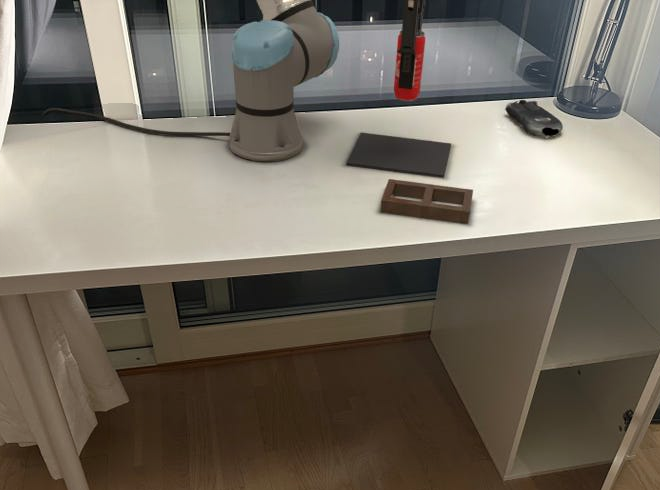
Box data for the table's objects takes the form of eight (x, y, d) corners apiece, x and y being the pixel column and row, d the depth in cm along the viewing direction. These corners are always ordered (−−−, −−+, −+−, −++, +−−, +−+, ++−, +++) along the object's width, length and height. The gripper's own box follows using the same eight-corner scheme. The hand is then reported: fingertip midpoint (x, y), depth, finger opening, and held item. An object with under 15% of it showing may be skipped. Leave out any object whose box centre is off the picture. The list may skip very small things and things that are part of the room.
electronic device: (499, 122, 168) (533, 138, 156) (505, 97, 165) (539, 112, 153) (532, 124, 171) (568, 140, 160) (538, 100, 169) (574, 114, 157)
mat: (346, 165, 143) (346, 162, 143) (360, 134, 155) (360, 132, 155) (443, 177, 141) (444, 175, 140) (450, 146, 153) (451, 143, 152)
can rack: (380, 212, 129) (381, 199, 127) (387, 190, 136) (388, 178, 134) (468, 224, 127) (470, 211, 125) (471, 201, 134) (473, 189, 132)
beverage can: (417, 102, 138) (424, 38, 130) (391, 99, 138) (396, 35, 131) (420, 93, 142) (427, 30, 134) (395, 90, 142) (400, 27, 135)
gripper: (435, -40, 116) (420, 101, 131) (445, -60, 130) (431, 70, 145) (390, -44, 117) (380, 96, 132) (405, -63, 131) (395, 66, 146)
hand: (407, 82), depth 138 cm, fingers closed on beverage can, 5 cm apart
